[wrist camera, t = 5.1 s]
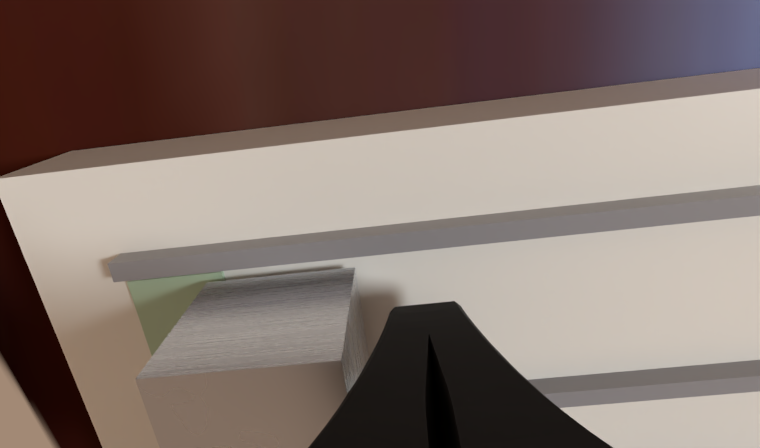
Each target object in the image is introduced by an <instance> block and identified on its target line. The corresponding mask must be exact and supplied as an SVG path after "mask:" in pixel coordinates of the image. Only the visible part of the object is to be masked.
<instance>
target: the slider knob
mask: <svg viewBox="0 0 760 448" xmlns="http://www.w3.org/2000/svg"><path fill="white" fill-rule="evenodd" d="M368 359H369V354H368V348H367V341H366V335H365V328H364V322H363V315H362V309H361V302H360V296H359V289H358V283H357V276H356V270H355V267H353V268H343V269H333V270H323V271H314V272H304V273H294V274H284V275H275V276H265V277H255V278H245V279H235V280H226V281H216V282H207V283H206V284H205V286H204V287H203V288H202V290H201V291H200V292H199V294H198V295H197V296H196V298H195V299H194V301H193V302H192V303H191V305H190V306H189V307H188V309H187V310H186V311H185V313H184V314H183V315H182V317H181V318H180V319H179V321H178V322H177V323H176V325H175V326H174V328H173V329H172V330H171V332H170V333H169V334H168V336H167V337H166V338H165V340H164V341H163V342H162V344H161V345H160V346H159V348H158V349H157V350H156V352H155V353H154V354H153V356H152V357H151V359H150V360H149V361H148V363H147V364H146V365H145V367H144V368H143V369H142V371H141V372H140V373H139V375H138V376H137V377H136V379H135V380H136V383H137V386H138V389H139V392H140V394H141V397H142V400H143V403H144V406H145V408H146V411H147V414H148V417H149V420H150V422H151V425H152V428H153V431H154V434H155V436H156V439H157V442H158V445H159V447H160V448H308V447H309V446H310V445H311V443H312V442H313V441H314V440H315V438H316V437H317V436H318V435H319V433H320V432H321V431H322V430H323V428H324V427H325V426H326V424H327V423H328V422H329V420H330V419H331V417H332V416H333V415H334V413H335V412H336V411H337V409H338V408H339V406H340V405H341V403H342V402H343V400H344V399H345V397H346V395H347V394H348V392H349V391H350V389H351V388H352V386H353V385H354V383H355V382H356V380H357V379H358V377H359V375H360V374H361V372H362V370H363V368H364V366H365V365H366V363H367V361H368Z"/></svg>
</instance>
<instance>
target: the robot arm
mask: <svg viewBox="0 0 760 448" xmlns="http://www.w3.org/2000/svg"><path fill="white" fill-rule="evenodd" d="M308 448H613V447H612V446H610V445H609V444H607V443H606V442H604V441H603V440H601V439H600V438H598V437H597V436H596V435H594V434H593V433H591V432H590V431H589V430H587V429H586V428H585V427H583V426H582V425H581V424H579V423H578V422H577V421H575V420H574V419H573V418H571V417H570V416H569V415H568V414H566V413H565V412H564V411H563V410H561V409H560V408H559V407H558V406H556V405H555V404H554V403H553V402H552V401H550V400H549V399H548V398H547V397H546V396H545V395H543V394H542V393H541V392H540V391H539V390H538V389H537V388H536V387H535V386H533V385H532V384H531V383H530V382H529V381H528V380H527V379H526V378H525V377H523V376H522V375H521V374H520V373H519V372H518V371H517V370H516V369H515V368H514V367H513V366H512V365H511V364H510V363H509V362H508V361H507V360H506V359H505V358H504V357H503V356H502V355H501V354H500V352H499V351H498V350H497V349H496V348H495V347H494V346H493V345H492V344H491V343H490V342H489V341H488V340H487V339H486V337H485V336H484V335H483V334H482V333H481V332H480V330H479V329H478V328H477V327H476V326H475V324H474V323H473V322H472V321H471V319H470V318H469V317H468V316H467V314H466V313H465V311H464V310H463V309H462V307H461V306H460V305H459V304H458V303H457V302H455V301H449V302H439V303H429V304H418V305H408V306H398V307H394V308H393V309H392V310H391V312H390V313H389V316H388V319H387V322H386V324H385V327H384V329H383V331H382V334H381V336H380V338H379V340H378V342H377V344H376V346H375V348H374V350H373V352H372V354H371V355H370V357H369V359H368V361H367V363H366V365H365V366H364V368H363V370H362V372H361V374H360V375H359V377H358V379H357V380H356V382H355V383H354V385H353V386H352V388H351V389H350V391H349V392H348V394H347V395H346V397H345V399H344V400H343V402H342V403H341V405H340V406H339V408H338V409H337V411H336V412H335V413H334V415H333V416H332V417H331V419H330V420H329V422H328V423H327V424H326V426H325V427H324V428H323V430H322V431H321V432H320V433H319V435H318V436H317V437H316V438H315V440H314V441H313V442H312V443H311V445H310V446H309V447H308Z"/></svg>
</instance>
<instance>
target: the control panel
mask: <svg viewBox="0 0 760 448" xmlns="http://www.w3.org/2000/svg"><path fill="white" fill-rule="evenodd" d="M0 199H1V202H2V204H3V206H4V209H5V211H6V214H7V216H8V219H9V221H10V224H11V226H12V228H13V231H14V233H15V236H16V238H17V241H18V243H19V245H20V248H21V250H22V253H23V255H24V258H25V260H26V263H27V265H28V267H29V270H30V272H31V275H32V277H33V280H34V282H35V284H36V287H37V289H38V292H39V294H40V297H41V299H42V301H43V304H44V306H45V309H46V311H47V314H48V316H49V319H50V321H51V323H52V326H53V328H54V331H55V333H56V336H57V338H58V340H59V343H60V345H61V348H62V350H63V353H64V355H65V358H66V360H67V362H68V365H69V367H70V370H71V372H72V375H73V377H74V379H75V382H76V384H77V387H78V389H79V392H80V394H81V397H82V399H83V401H84V404H85V406H86V409H87V411H88V414H89V416H90V418H91V421H92V423H93V426H94V428H95V431H96V433H97V436H98V438H99V440H100V443H101V445H102V448H160V447H159V445H158V442H157V439H156V436H155V434H154V431H153V428H152V425H151V422H150V420H149V417H148V414H147V411H146V408H145V406H144V403H143V400H142V397H141V394H140V392H139V389H138V386H137V383H136V380H135V379H136V377H137V376H138V375H139V373H140V372H141V371H142V369H143V368H144V367H145V365H146V364H147V363H148V361H149V360H150V359H151V357H152V356H153V354H154V353H155V352H156V350H157V349H158V348H159V346H160V345H161V344H162V342H163V341H164V340H165V338H166V337H167V336H168V334H169V333H170V332H171V330H172V329H173V328H174V326H175V325H176V323H177V322H178V321H179V319H180V318H181V317H182V315H183V314H184V313H185V311H186V310H187V309H188V307H189V306H190V305H191V303H192V302H193V301H194V299H195V298H196V296H197V295H198V294H199V292H200V291H201V290H202V288H203V287H204V286H205V284H206V283H207V282H216V281H226V280H235V279H245V278H255V277H265V276H275V275H284V274H294V273H304V272H314V271H323V270H333V269H343V268H353V267H355V270H356V276H357V283H358V289H359V296H360V302H361V309H362V315H363V322H364V328H365V335H366V341H367V348H368V354H369V357H370V355H371V354H372V352H373V350H374V348H375V346H376V344H377V342H378V340H379V338H380V336H381V334H382V331H383V329H384V327H385V324H386V322H387V319H388V316H389V313H390V312H391V310H392V309H393V308H394V307H398V306H408V305H418V304H429V303H439V302H449V301H455V302H457V303H458V304H459V305H460V306H461V307H462V309H463V310H464V311H465V313H466V314H467V316H468V317H469V318H470V319H471V321H472V322H473V323H474V324H475V326H476V327H477V328H478V329H479V330H480V332H481V333H482V334H483V335H484V336H485V337H486V339H487V340H488V341H489V342H490V343H491V344H492V345H493V346H494V347H495V348H496V349H497V350H498V351H499V352H500V354H501V355H502V356H503V357H504V358H505V359H506V360H507V361H508V362H509V363H510V364H511V365H512V366H513V367H514V368H515V369H516V370H517V371H518V372H519V373H520V374H521V375H522V376H523V377H525V378H526V379H527V380H528V381H529V382H530V383H531V384H532V385H533V386H535V387H536V388H537V389H538V390H539V391H540V392H541V393H542V394H543V395H545V396H546V397H547V398H548V399H549V400H550V401H552V402H553V403H554V404H555V405H556V406H558V407H559V408H560V409H561V410H563V411H564V412H565V413H566V414H568V415H569V416H570V417H571V418H573V419H574V420H575V421H577V422H578V423H579V424H581V425H582V426H583V427H585V428H586V429H587V430H589V431H590V432H591V433H593V434H594V435H596V436H597V437H598V438H600V439H601V440H603V441H604V442H606V443H607V444H609V445H610V446H612V447H613V448H760V68H755V69H747V70H739V71H731V72H722V73H714V74H706V75H697V76H689V77H681V78H673V79H664V80H656V81H648V82H639V83H631V84H623V85H615V86H606V87H598V88H590V89H581V90H573V91H565V92H557V93H548V94H540V95H532V96H523V97H515V98H507V99H499V100H490V101H482V102H474V103H465V104H457V105H449V106H441V107H432V108H424V109H416V110H408V111H399V112H391V113H383V114H374V115H366V116H358V117H350V118H341V119H333V120H325V121H316V122H308V123H300V124H292V125H283V126H275V127H267V128H258V129H250V130H242V131H234V132H225V133H217V134H209V135H200V136H192V137H184V138H176V139H167V140H159V141H151V142H142V143H134V144H126V145H118V146H109V147H101V148H93V149H85V150H76V151H70V152H67V153H64V154H61V155H59V156H56V157H53V158H50V159H47V160H45V161H42V162H39V163H36V164H34V165H31V166H28V167H25V168H23V169H20V170H17V171H14V172H11V173H9V174H6V175H3V176H0Z"/></svg>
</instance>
